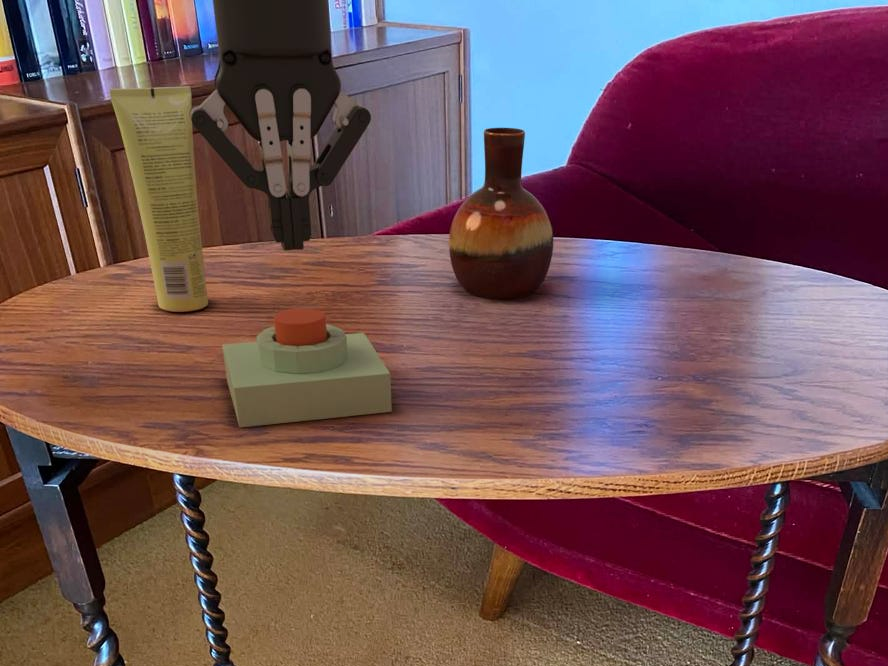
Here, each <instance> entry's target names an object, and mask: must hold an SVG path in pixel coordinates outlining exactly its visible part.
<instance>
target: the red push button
mask: <svg viewBox="0 0 888 666" xmlns="http://www.w3.org/2000/svg"><path fill="white" fill-rule="evenodd" d="M273 323H274V326H275V333H276V342H277V343H280V344H283V345H289V346H307V345H315V344H319V343H322V342H325V341H327V330H326V324H327V319H326V314H325V312H323V311H321V310H319V309H316V308H308V307H296V308H295V307H293V308H288V309H284V310H280V311H278V312H277V313H275V314H274V316H273Z"/></svg>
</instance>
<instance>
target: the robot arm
mask: <svg viewBox="0 0 888 666" xmlns="http://www.w3.org/2000/svg"><path fill="white" fill-rule="evenodd" d="M212 6H213V14H214V24H215V29H216V30H215V31H216V39H217V49H218V66H217V70H216V73H215V76H214V87H215V90H214V91H213V92H211V94H210V95H208V96H207V98H205V100H203V102H201V104H200V105H198V104H195V105H193V106H192V108H191V109H190V112H189V116H190V119H191V121H192V126H193V127H194V128H195V130H197V131H198V132H199V134H200V135H201V136H202V137H203V138H204V139H205V141H206V142H207V143H208V144H209V145H210V146H211V147H212V149H213V150H214V151H215V152H216V154H217V155H218V156H219V157H220V159H222V160H223V161H224V163H225V164H226V165H227V166H228V167H229V169H230V170H231V171H232V172H233V173H234V174H235V175H236V176H237V177H238V179H239V180H240V181H241V182H242V183H243V184H244V186H245V187H247V188H248V189H255V190H257V191H260V192H263V193H264V194H265V195H266V199H267V209H268V219H269V228H270V233H271V235H272V237H273V239H274V241H275V243H277V244H280V245H281V248H282V250H283V251H285V252H287V251H300V250H302V251H303V250H304V249H305V248H304V247H305V246H304V244H305V243H304V242H310V240H311V237H312V226H311V225H312V223H311V214H310V213H311V211H310V209H311V208H310V195H311V193H312V191H314V190H315V189H318V188H320V187H322V186H323V187H328V186H330V185H332V183H333V182H334V180H335V178H336V177H337V175H338V174H339V173H340V171H341V170H342V168H343V166H344V164H345V163H346V161H347V160H348V158H349V156H350V155H351V153H352V152H353V150H354V148H355V147H356V146H357V144H358V142H359V141H360V140H361V137H362V136H363V135H364V133H365V131H366V130H367V129H368V127H369V125H370V124H371V121H372V114H371V112H370V111H369V110H368V109H367V108H366V107H365V106H364V105H361V104H360V103H357V102H356V101H355V100H353V99H352V98H351V97H350V96H348V95H347V93H345V92H344V91H343V90H342V81H341V79H340V76H339V74H338V72H337V70H336V68H335V65H334V62H333V55H332V38H331V22H330V20H331V19H330V4H329V0H212ZM225 106H226V107H227V108H228V109H229V110H230V112H231V113H232V114H233V116H234V117H235V118H236V119H237V121H238V122H239V123H240V125H241V126H242V127H243V128H244V130H245V132H247V134H248V135H250V137H251V138H253V140H256V142H257V146H258V151H259V156H260V160H261V161H260V162H261V166H262V168H260V167H256V166H253V164H252V163H251V162H250V161H249V159H248V158H247V157H246V156H245V155H244V153H243V152H242V151H241V150H240V149H239V148H238V147H237V145H236V144H235V143H234V142H233V141H232V139H231V138H230V137H229V136H228V135H227V133H226V132H227V130H228V128H229V120H228V118H227V117H226V115H225ZM333 106H334V113H333V116H332V121H333V124H334V125H335V129H334V130H333V132H332V134H331V135H330V136H329V138H328V140H327V141H326V143H325V145H324V147H322V149H321V152H320V153H319V154H318V156H317V157H316V159H315V161H314V163H313V164H311V155H312V152H311V151H312V149H311V147H312V146H311V140H312V139H313V138H315V137H316V135H317V134H318V133H319V131H320V130H321V128H322V126H323V124H324V122H325V121H326V119H327V117H328V116H329V113H331V110H332V108H333ZM283 141H286V153H287V155H286V156H287V183H288V191H287V184H286V178H285V177H286V176H285V171H284V165H283V154H282V149H281V142H283ZM310 164H311V165H310Z"/></svg>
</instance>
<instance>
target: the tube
mask: <svg viewBox="0 0 888 666" xmlns="http://www.w3.org/2000/svg"><path fill="white" fill-rule="evenodd" d="M192 95H193V94H192V89H191V86H190V85H185V86H167V87H137V88H136V87H135V88H134V87H133V88H131V87H130V88H109V97H110V101H111V104H112V107H113V110H114V112H115V116H116V120H117V123H118V127H119V131H120V134H121V139H122V142H123V146H124V150H125V154H126V159H127V162H128V167H129V171H130V175H131V179H132V184H133V186H134V193H135V196H136V200H137V206H138V210H139V214H140V215H139V216H140V220H141V224H142V228H143V233H144V238H145V243H146V248H147V253H148V259H149V264H150V269H151V274H152V279H153V285H154V288H155V289H154V290H155V294H156V300H157V304H158V307H159V308H160V309H162V310H164V311H166V312H175V313H176V312H177V313H184V312H194V311H198V310H202V309H204V308H205V307H207V306H208V305H209V296H208V289H207V280H206V279H207V278H206V272H205V262H204V254H203V245H202V244H203V243H202V234H201V223H200V215H199V214H200V213H199V202H198V201H199V200H198V190H197V179H196V166H195V151H194V150H195V149H194V133H193V123H192V121H191V119H190V116H189V112H190V109H191V108H192V107H193V106H192V104H193V103H192V102H193V101H192Z"/></svg>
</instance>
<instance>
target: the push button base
mask: <svg viewBox="0 0 888 666" xmlns="http://www.w3.org/2000/svg"><path fill="white" fill-rule="evenodd" d="M326 330H327V341H325V342H322V343H319V344H315V345H307V346H289V345H283V344H280V343H277V342H276V333H275V325H274V326H271V327H268V328H265V329H263V330H262V331H261V332H260V333H259V334H257V335H256V341H249V342H248V341H247V342H246V341H245V342H235V343H224V344H223V343H222V344H221V348H222V355H223V360H224V361H223V362H224V369H225V375H226V382H227V386H228V390H229V394H230V396H231V401H232V404H233V408H234V412H235V416H236V420H237V424H238V428H241V429H242V428H250V427H258V426H259V427H260V426H269V425H277V424H279V425H280V424H287V423H297V422H306V421H307V422H308V421H317V420H327V419H336V418H344V417H345V418H346V417H355V416H364V415H365V416H366V415H374V414H383V413H392V412H393V409H392V407H393V406H392V388H391V387H392V385H391V384H392V381H391V372H390V371H389V370H388V367H387V366H386V364H385V363H384V361H383V359H382V358H381V357H380V355H379V354H378V352H377V351H376V349H375V348H374V346H373V345H372V342H371V341H370V340H369V338H368V337H367V335H366V333H365V332H358V333H357V332H355V333H347V334H346V333H345V331H344V329H343V328H339V327H337V326H334V325H331V324H328V323H326Z"/></svg>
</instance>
